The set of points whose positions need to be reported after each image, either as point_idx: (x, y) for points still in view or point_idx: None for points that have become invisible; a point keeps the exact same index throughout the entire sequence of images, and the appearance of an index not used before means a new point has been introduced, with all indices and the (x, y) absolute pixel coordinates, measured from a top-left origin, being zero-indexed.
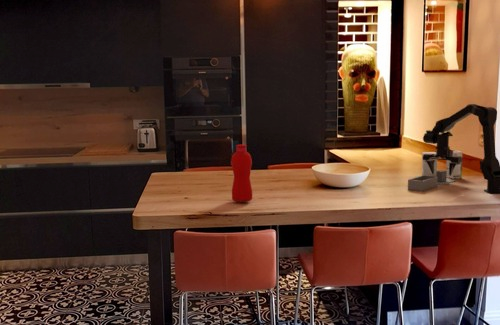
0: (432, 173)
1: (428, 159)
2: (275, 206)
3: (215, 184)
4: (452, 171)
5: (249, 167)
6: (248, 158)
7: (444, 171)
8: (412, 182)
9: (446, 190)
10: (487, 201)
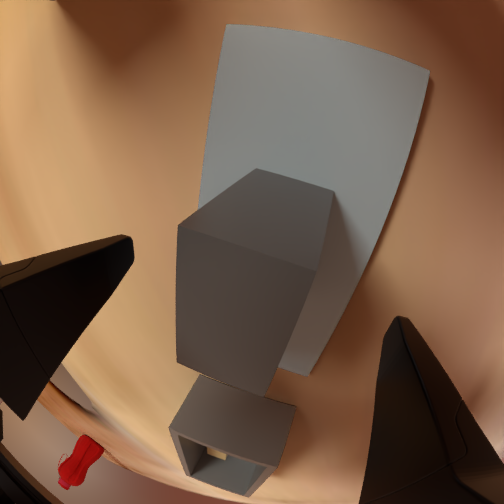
0: (129, 265)
1: (2, 425)
2: (139, 469)
3: None
4: (435, 373)
5: (84, 476)
6: (79, 484)
7: (286, 342)
8: (208, 474)
9: (356, 450)
10: None
